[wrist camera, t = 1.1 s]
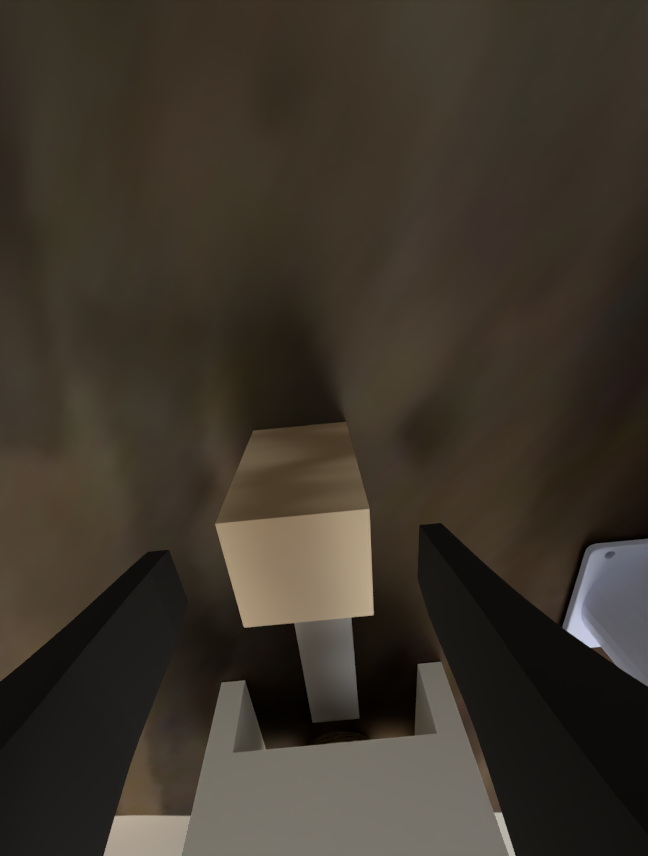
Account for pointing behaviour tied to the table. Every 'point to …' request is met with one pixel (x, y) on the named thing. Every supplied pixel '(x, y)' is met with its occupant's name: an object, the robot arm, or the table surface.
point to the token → (339, 737)
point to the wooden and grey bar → (303, 551)
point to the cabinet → (343, 788)
